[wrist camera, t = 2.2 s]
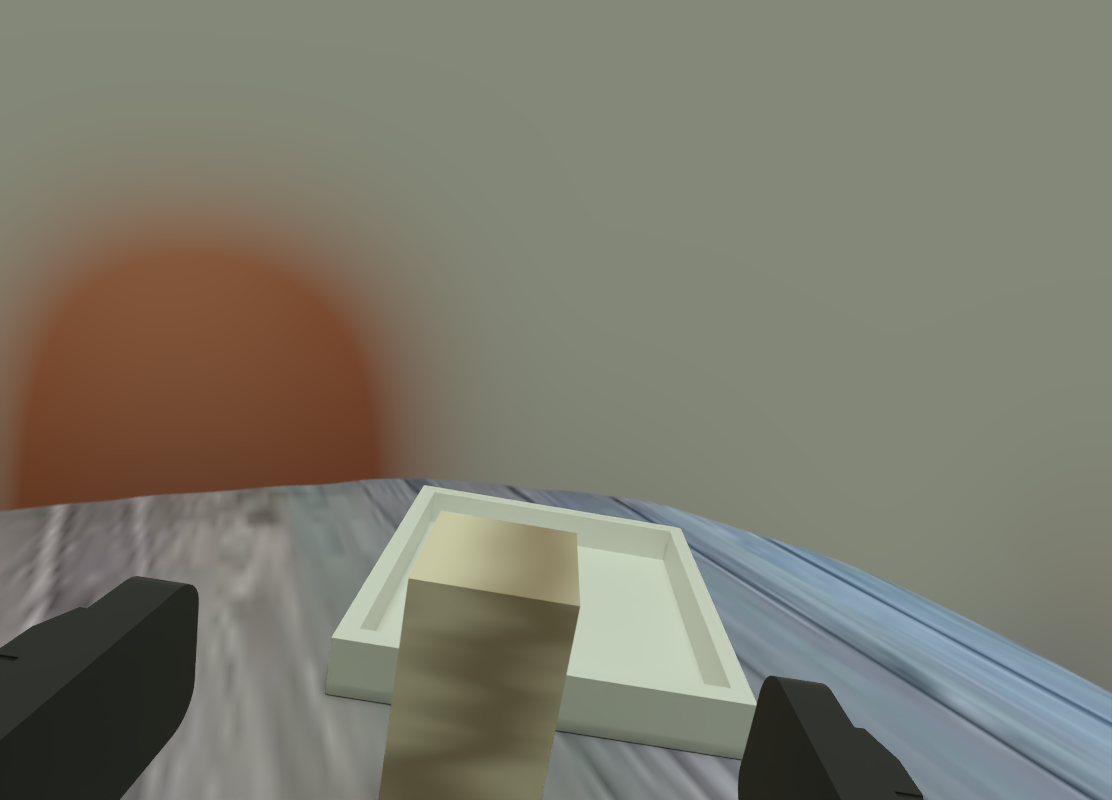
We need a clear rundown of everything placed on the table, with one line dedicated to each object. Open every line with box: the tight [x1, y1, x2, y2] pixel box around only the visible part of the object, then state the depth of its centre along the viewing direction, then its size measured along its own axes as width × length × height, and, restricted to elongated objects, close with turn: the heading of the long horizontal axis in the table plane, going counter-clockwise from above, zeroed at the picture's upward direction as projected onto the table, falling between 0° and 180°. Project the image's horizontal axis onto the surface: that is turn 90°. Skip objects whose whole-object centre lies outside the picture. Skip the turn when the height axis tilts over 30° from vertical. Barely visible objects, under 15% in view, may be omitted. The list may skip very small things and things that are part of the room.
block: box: [379, 511, 580, 800], centre depth 22 cm, size 5×5×12 cm
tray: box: [325, 485, 757, 760], centre depth 40 cm, size 20×20×3 cm
